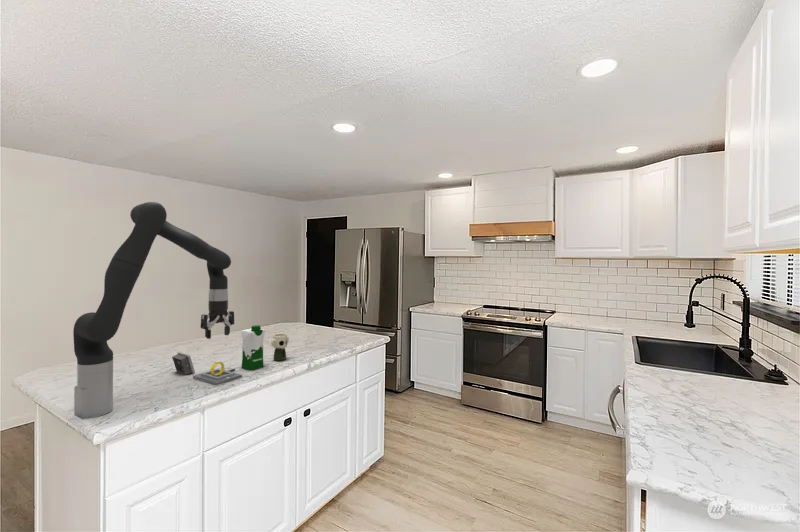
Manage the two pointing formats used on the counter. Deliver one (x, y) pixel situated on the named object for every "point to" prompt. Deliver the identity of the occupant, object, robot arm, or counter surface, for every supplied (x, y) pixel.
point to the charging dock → (217, 377)
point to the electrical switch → (183, 363)
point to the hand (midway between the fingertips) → (217, 336)
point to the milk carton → (252, 348)
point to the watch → (214, 366)
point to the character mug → (280, 345)
